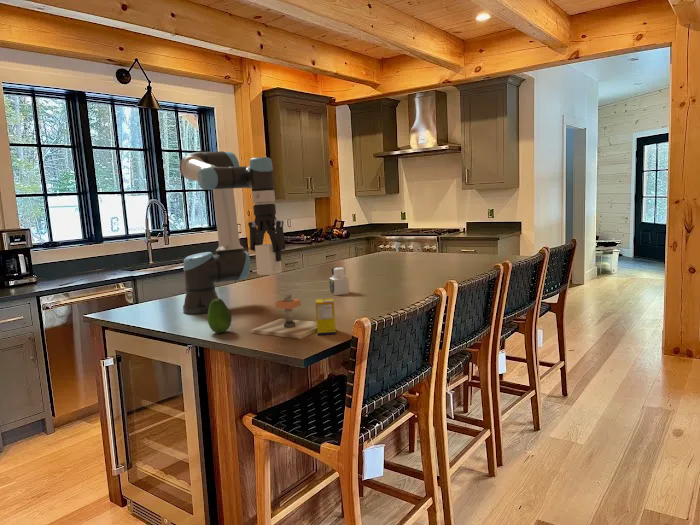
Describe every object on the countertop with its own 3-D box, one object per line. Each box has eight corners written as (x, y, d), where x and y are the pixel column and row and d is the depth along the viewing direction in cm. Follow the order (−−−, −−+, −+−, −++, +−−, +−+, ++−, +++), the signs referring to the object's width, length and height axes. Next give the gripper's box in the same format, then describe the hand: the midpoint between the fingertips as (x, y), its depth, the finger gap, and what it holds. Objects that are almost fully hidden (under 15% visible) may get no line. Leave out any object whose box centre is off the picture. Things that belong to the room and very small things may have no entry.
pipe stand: (251, 333, 176) (249, 298, 175) (280, 321, 190) (277, 289, 188) (301, 338, 167) (298, 301, 165) (327, 326, 180) (325, 291, 179)
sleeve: (257, 274, 181) (254, 245, 179) (268, 272, 186) (265, 243, 185) (271, 274, 178) (268, 245, 176) (281, 272, 183) (279, 243, 182)
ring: (275, 308, 176) (275, 302, 176) (286, 304, 181) (286, 298, 181) (290, 309, 173) (290, 303, 173) (300, 305, 178) (300, 299, 178)
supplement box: (335, 329, 175) (333, 297, 174) (335, 334, 170) (333, 301, 168) (317, 330, 175) (315, 298, 174) (317, 335, 169) (315, 302, 168)
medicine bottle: (330, 292, 240) (328, 266, 238) (344, 291, 242) (343, 265, 240) (334, 295, 233) (332, 268, 231) (349, 293, 235) (348, 267, 234)
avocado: (203, 334, 178) (200, 299, 176) (221, 328, 184) (218, 295, 183) (220, 337, 174) (217, 301, 172) (237, 331, 180) (234, 296, 178)
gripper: (235, 205, 180) (241, 271, 183) (279, 202, 171) (285, 272, 174) (249, 204, 187) (255, 268, 189) (293, 201, 177) (298, 269, 180)
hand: (269, 270), depth 182 cm, fingers closed on sleeve, 6 cm apart
